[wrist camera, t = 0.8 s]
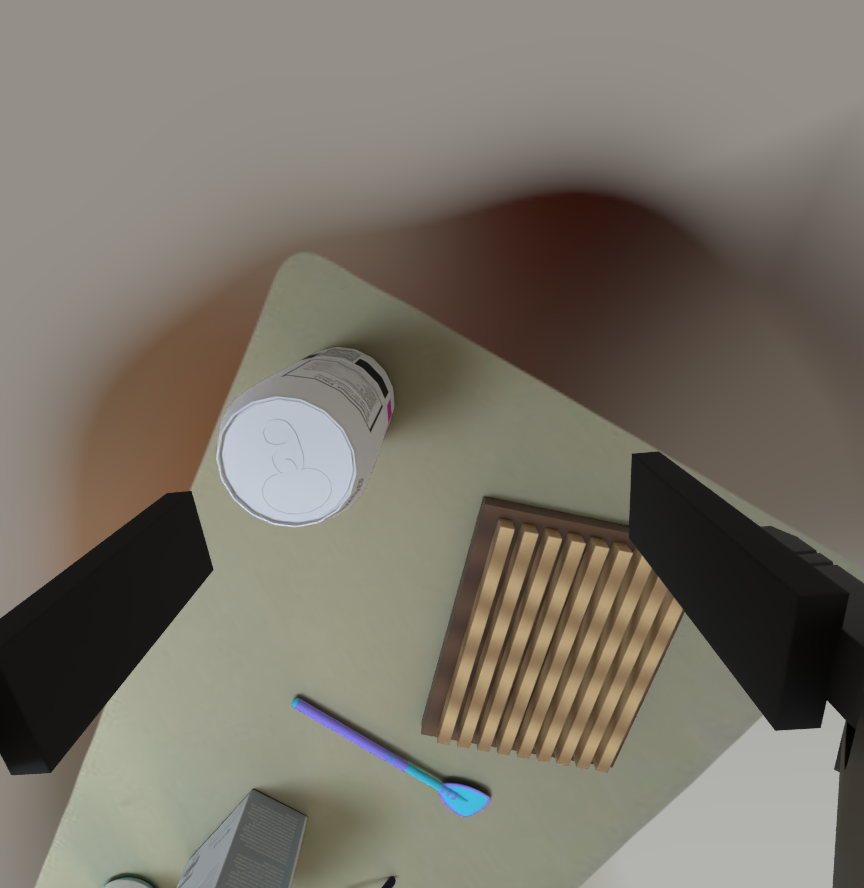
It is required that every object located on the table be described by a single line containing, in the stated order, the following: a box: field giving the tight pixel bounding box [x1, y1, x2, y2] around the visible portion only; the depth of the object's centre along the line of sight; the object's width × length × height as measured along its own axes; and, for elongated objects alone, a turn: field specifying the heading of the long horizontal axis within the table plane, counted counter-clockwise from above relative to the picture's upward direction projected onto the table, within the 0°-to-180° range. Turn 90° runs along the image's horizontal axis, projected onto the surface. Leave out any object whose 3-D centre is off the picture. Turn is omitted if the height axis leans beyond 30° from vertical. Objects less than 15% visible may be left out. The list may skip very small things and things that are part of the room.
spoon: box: [292, 698, 490, 817], centre depth 49 cm, size 25×4×1 cm, turn 55°
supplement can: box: [216, 347, 395, 527], centre depth 30 cm, size 8×8×15 cm
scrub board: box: [421, 497, 685, 772], centre depth 43 cm, size 26×20×3 cm
